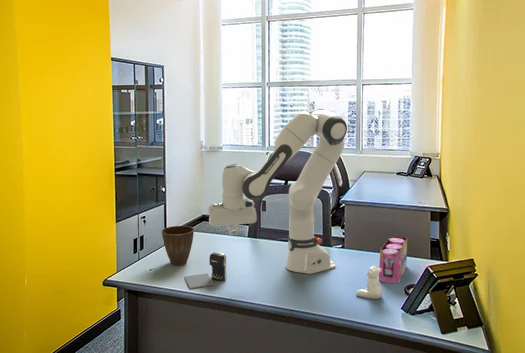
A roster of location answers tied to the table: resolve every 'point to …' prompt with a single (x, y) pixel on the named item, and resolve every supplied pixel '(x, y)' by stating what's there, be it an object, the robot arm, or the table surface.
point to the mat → (199, 281)
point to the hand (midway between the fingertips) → (233, 234)
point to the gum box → (393, 259)
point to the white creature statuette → (371, 285)
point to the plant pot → (178, 243)
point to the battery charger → (218, 266)
